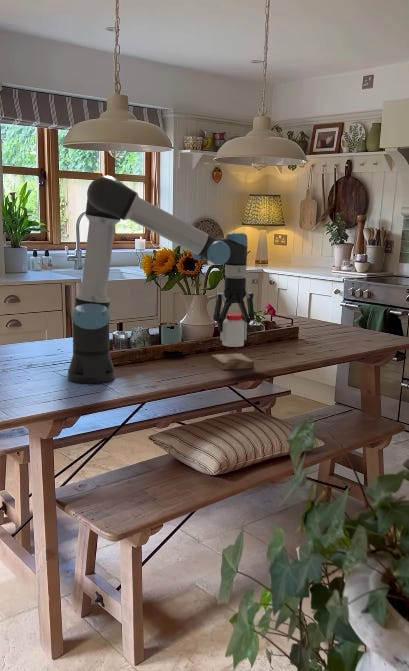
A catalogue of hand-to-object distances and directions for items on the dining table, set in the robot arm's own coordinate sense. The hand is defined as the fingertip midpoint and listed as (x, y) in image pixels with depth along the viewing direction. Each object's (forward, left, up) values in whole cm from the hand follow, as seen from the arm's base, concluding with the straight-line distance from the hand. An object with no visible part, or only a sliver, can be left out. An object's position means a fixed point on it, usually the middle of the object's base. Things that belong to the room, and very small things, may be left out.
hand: (233, 339), depth 221 cm
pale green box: (-16, +24, -9) cm, 30 cm away
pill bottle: (0, 0, -2) cm, 2 cm away
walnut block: (0, 0, -10) cm, 10 cm away
